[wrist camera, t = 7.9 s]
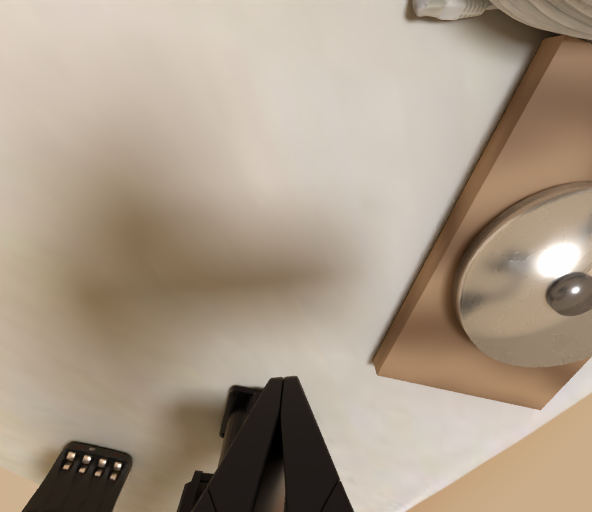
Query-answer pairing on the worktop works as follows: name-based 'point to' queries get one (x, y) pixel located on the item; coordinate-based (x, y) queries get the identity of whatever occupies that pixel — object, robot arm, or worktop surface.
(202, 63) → the worktop surface
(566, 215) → the metal disc with handle
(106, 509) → the battery charger
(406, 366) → the board
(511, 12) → the cable
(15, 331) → the worktop surface
